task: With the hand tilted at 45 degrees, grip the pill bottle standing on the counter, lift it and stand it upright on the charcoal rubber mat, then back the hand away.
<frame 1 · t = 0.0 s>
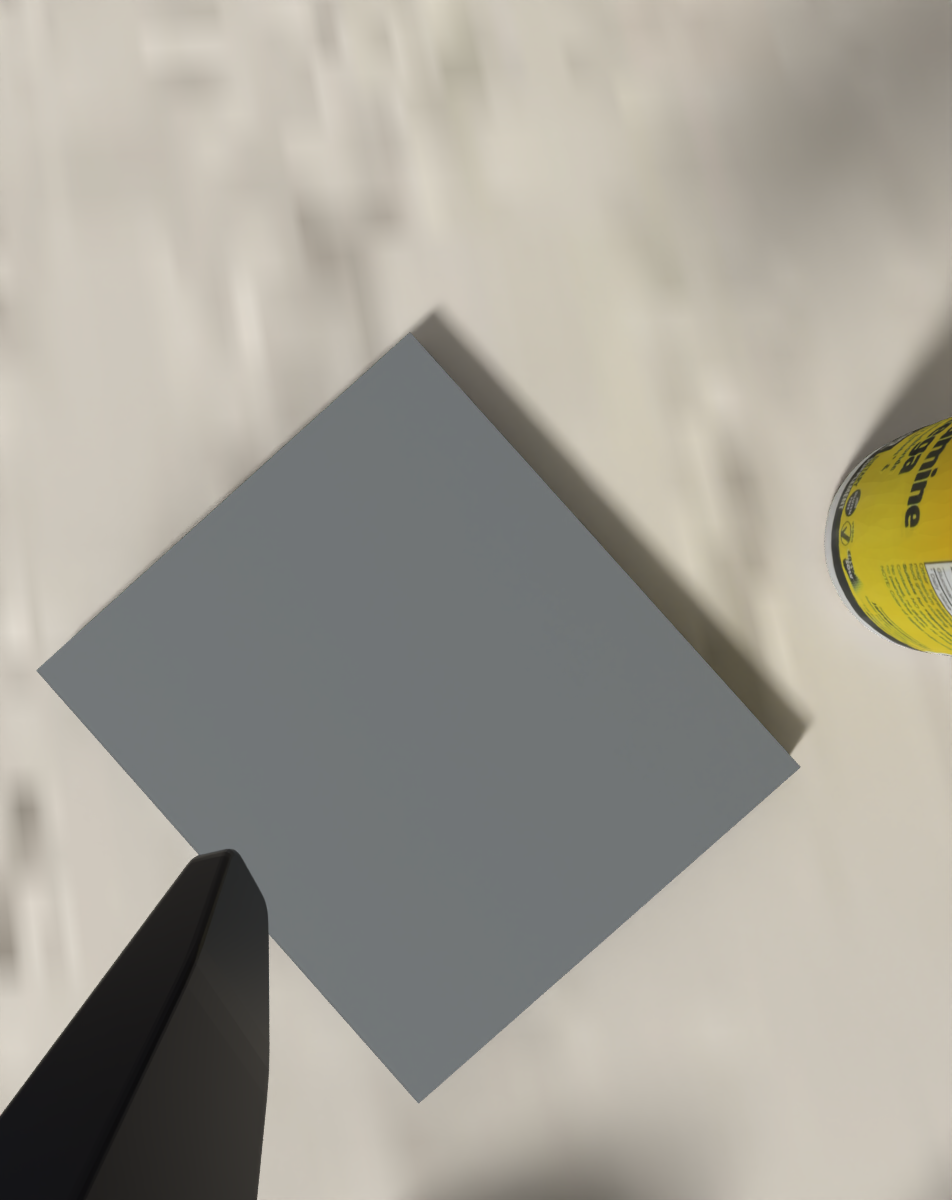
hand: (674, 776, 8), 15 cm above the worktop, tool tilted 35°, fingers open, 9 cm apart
pill bottle: (921, 543, 23), on the worktop
mat: (417, 713, 23), on the worktop
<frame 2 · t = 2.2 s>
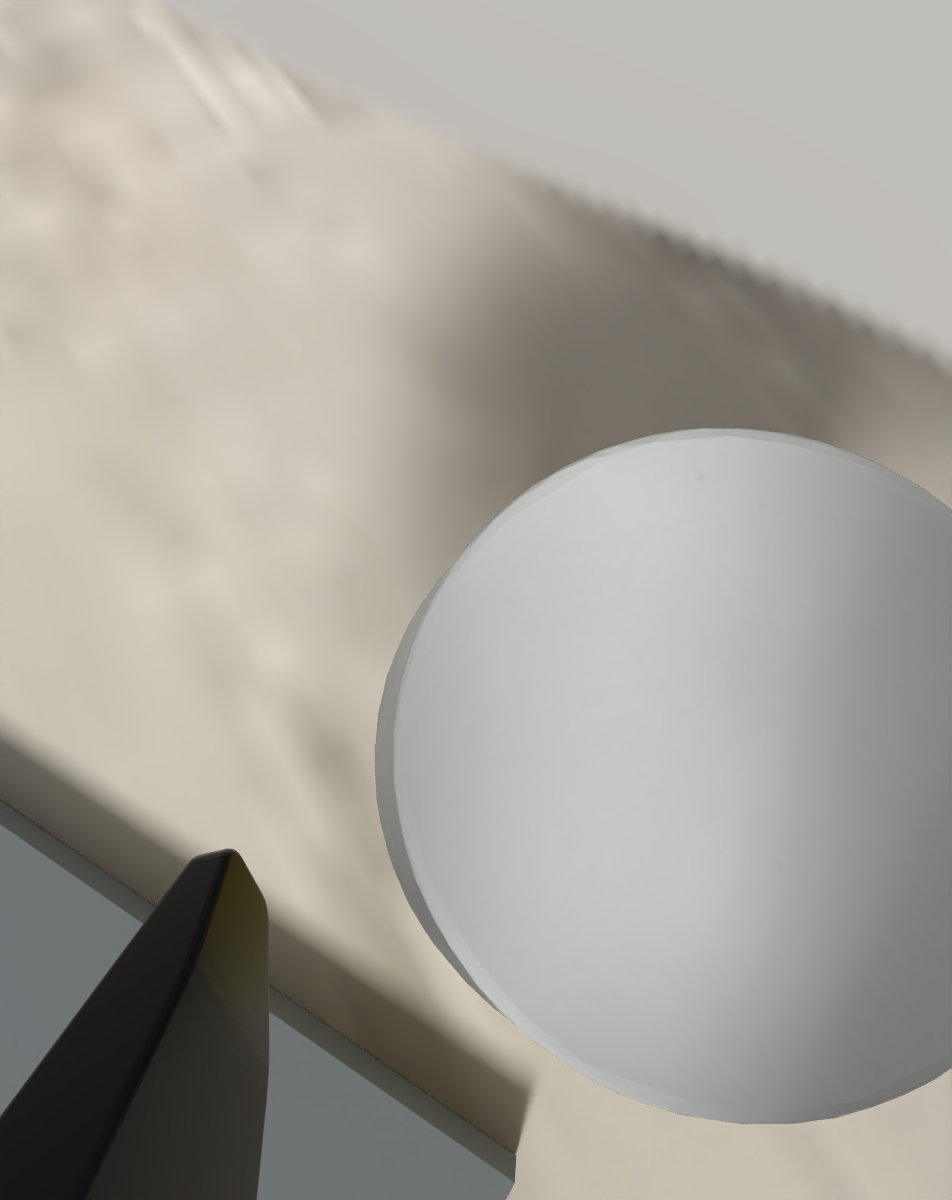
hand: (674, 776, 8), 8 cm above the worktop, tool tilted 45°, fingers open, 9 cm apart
pill bottle: (602, 763, 16), on the worktop
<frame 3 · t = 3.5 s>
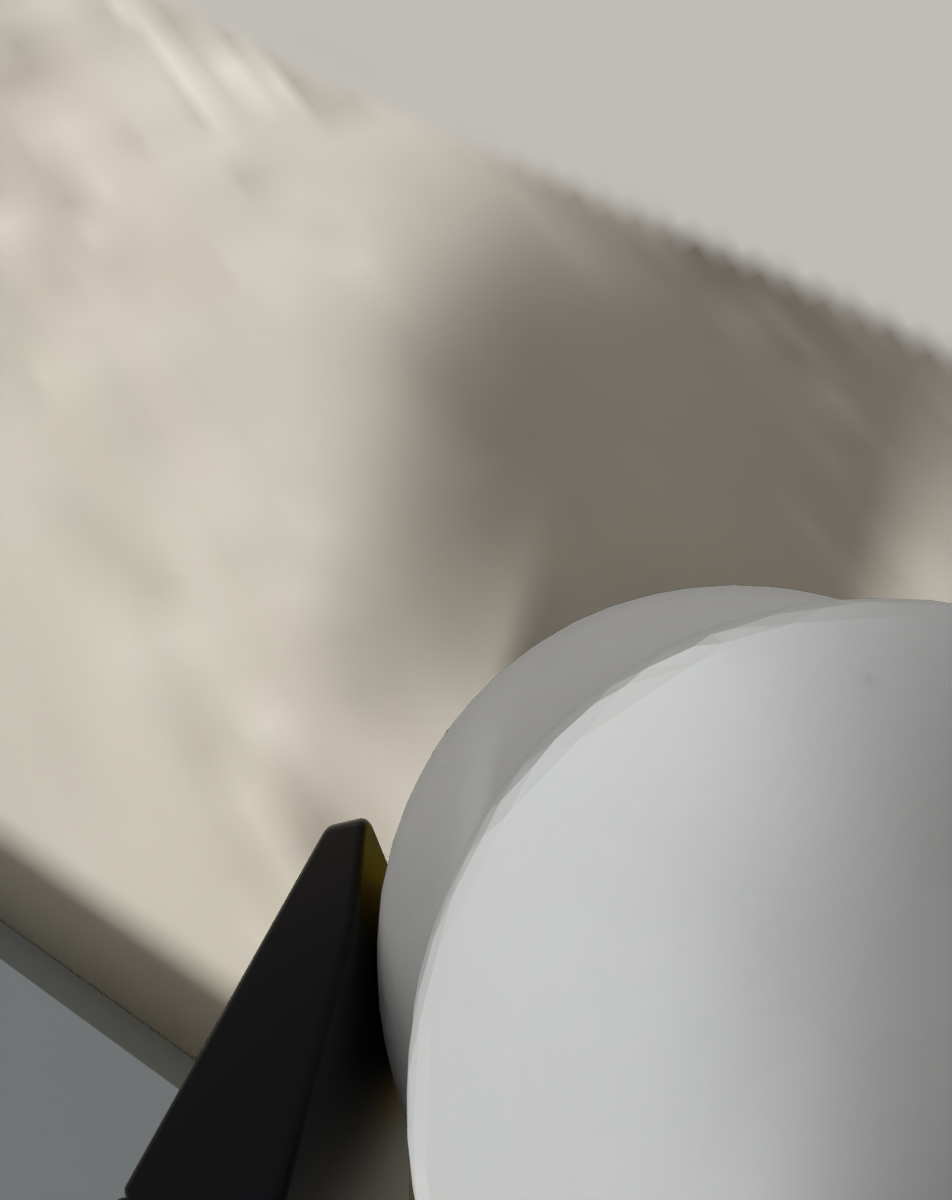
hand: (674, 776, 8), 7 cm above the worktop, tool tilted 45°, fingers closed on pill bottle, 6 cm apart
pill bottle: (632, 849, 14), on the worktop, touching gripper
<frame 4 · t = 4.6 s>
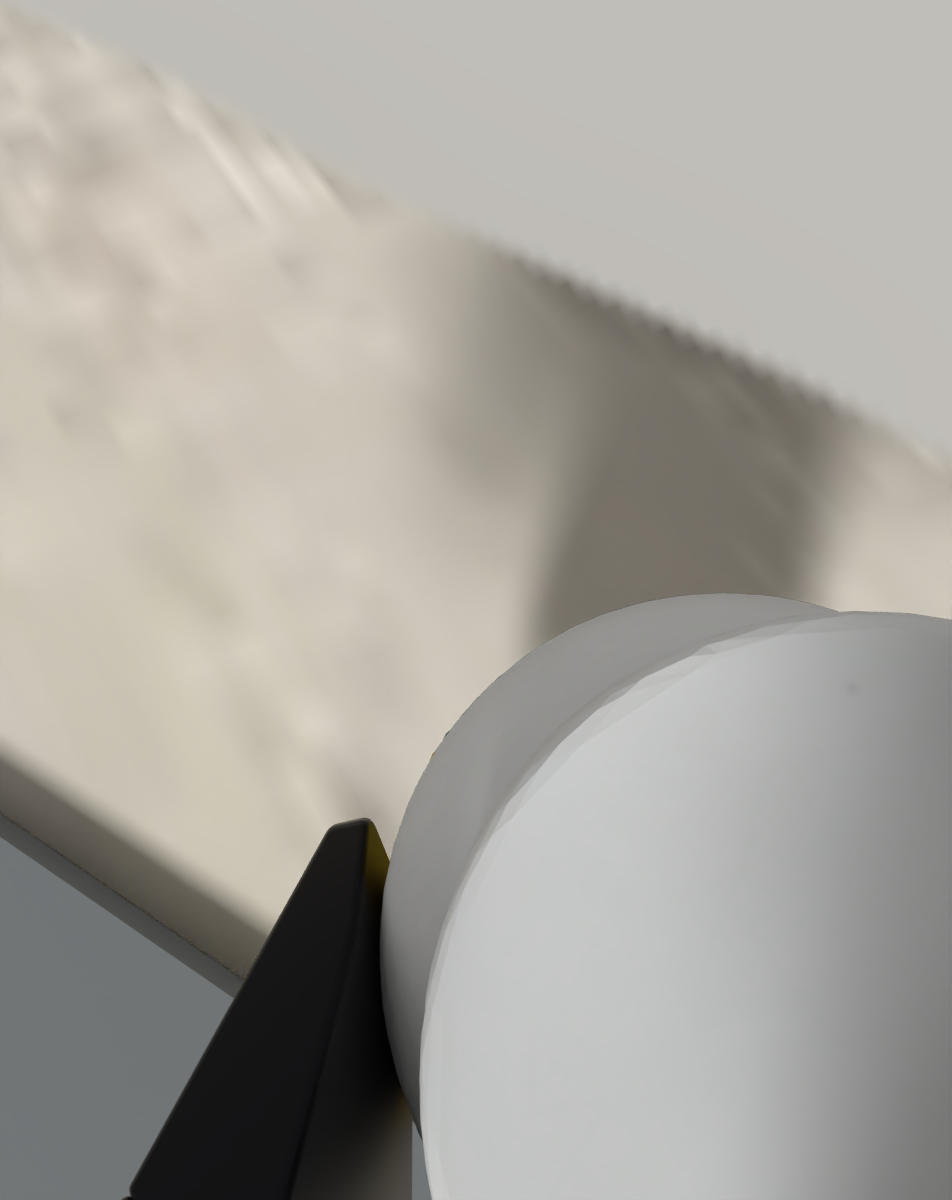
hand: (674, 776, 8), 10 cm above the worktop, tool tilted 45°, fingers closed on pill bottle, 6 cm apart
pill bottle: (621, 848, 15), point 3 cm above the worktop, touching gripper
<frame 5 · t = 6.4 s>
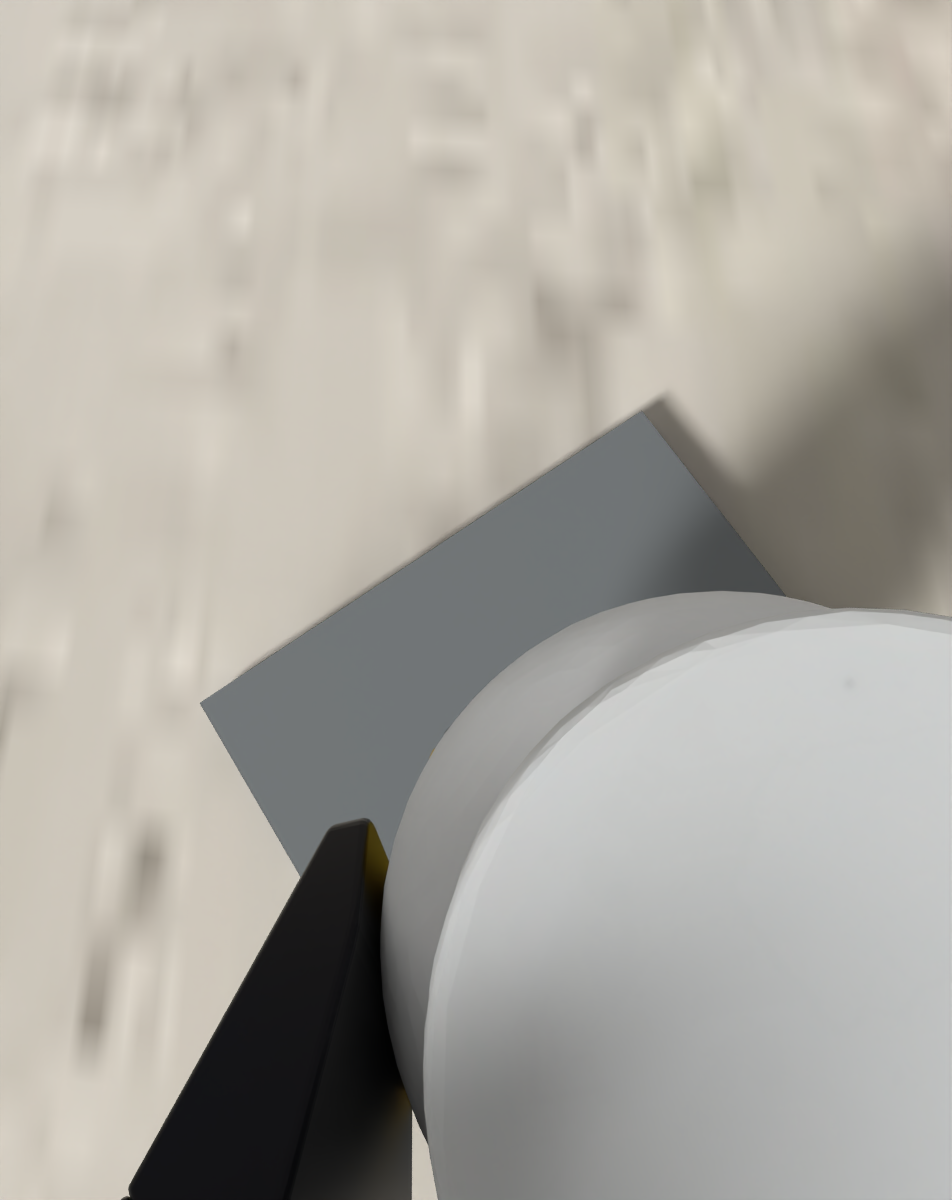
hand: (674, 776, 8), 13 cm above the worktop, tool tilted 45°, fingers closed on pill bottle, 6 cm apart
pill bottle: (618, 845, 15), point 6 cm above the worktop, touching gripper
mat: (597, 812, 21), on the worktop
when the fingers open (9 cm above the worktop, at t = 8.1 s): pill bottle stays where it is, resting on mat.
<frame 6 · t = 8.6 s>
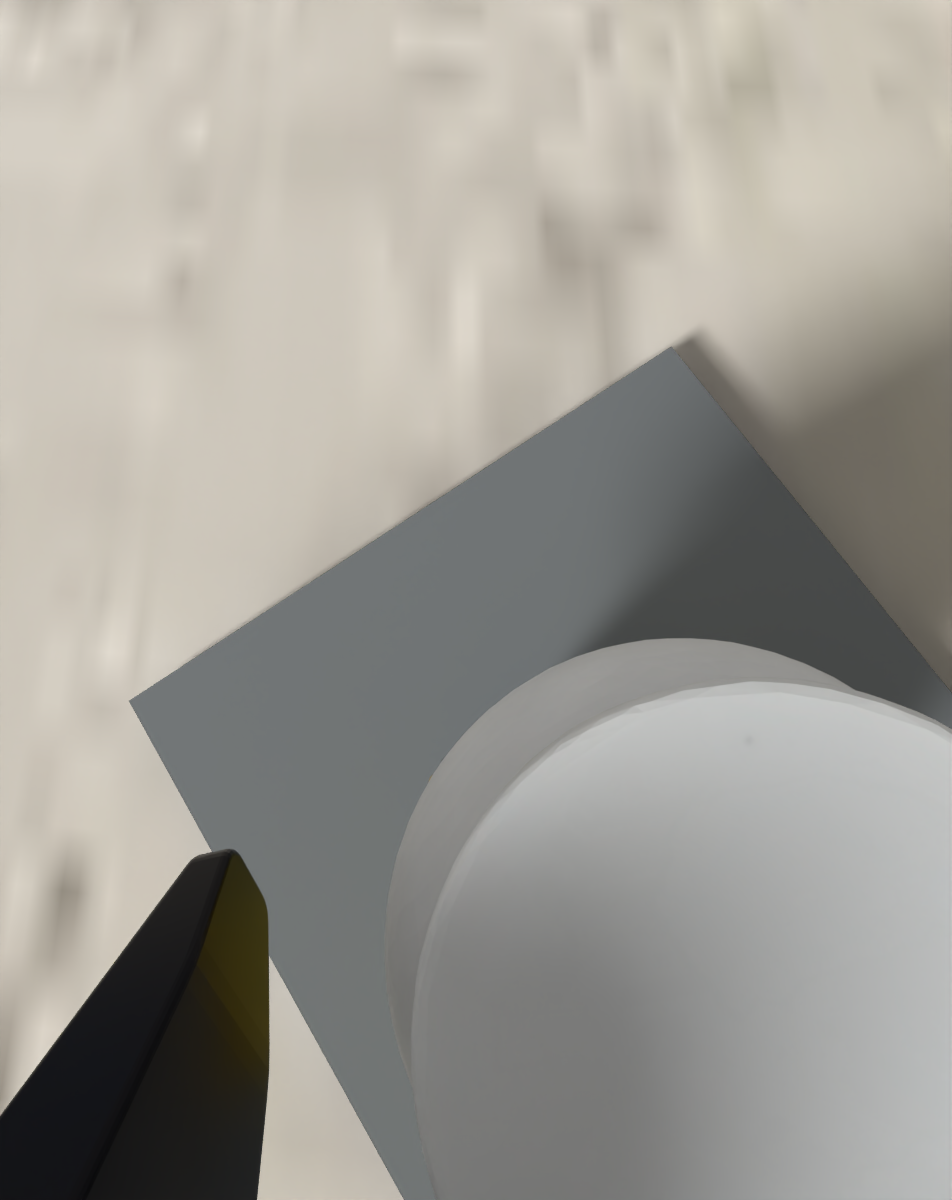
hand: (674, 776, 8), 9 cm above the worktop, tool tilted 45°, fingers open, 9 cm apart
pill bottle: (613, 853, 16), point 1 cm above the worktop, touching mat
mat: (618, 838, 17), on the worktop
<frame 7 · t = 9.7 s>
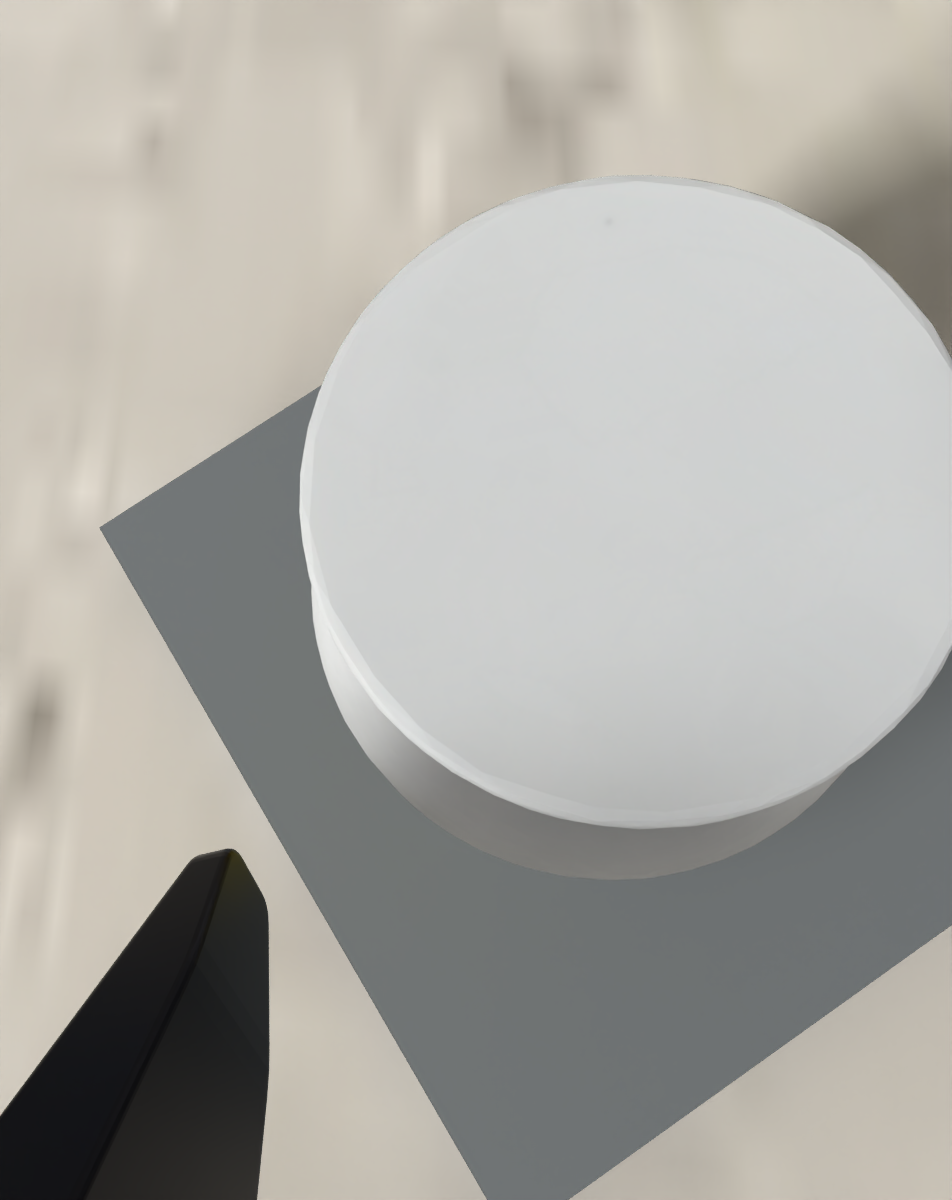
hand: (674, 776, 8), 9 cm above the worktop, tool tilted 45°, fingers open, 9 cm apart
pill bottle: (566, 663, 16), point 1 cm above the worktop, touching mat
mat: (574, 657, 17), on the worktop
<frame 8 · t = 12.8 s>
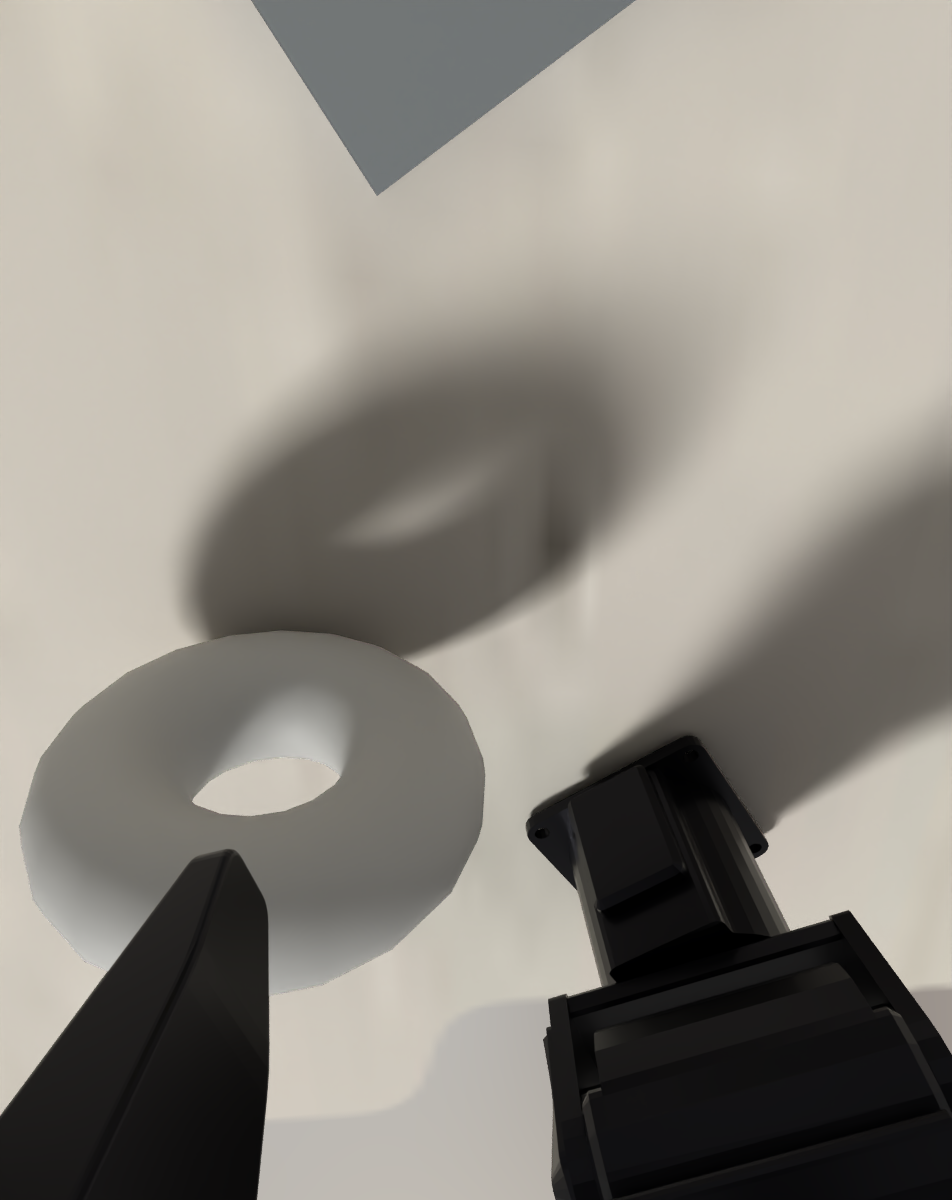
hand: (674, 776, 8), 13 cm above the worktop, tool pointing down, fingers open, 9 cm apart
donut: (288, 650, 23), on the worktop
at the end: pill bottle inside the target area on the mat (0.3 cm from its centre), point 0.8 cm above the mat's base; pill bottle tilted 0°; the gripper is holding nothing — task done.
